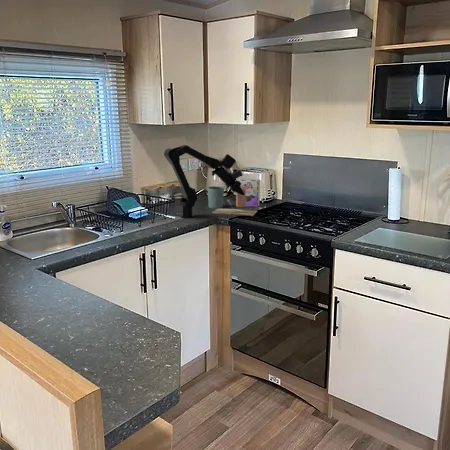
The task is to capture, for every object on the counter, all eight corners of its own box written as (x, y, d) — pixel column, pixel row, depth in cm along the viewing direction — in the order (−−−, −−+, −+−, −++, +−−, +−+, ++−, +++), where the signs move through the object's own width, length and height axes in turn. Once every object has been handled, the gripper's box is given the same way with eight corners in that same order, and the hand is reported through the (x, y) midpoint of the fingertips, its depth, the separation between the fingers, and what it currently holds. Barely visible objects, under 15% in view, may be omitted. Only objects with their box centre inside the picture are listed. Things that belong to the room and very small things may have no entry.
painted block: (245, 206, 273) (245, 189, 270) (237, 207, 272) (237, 189, 269) (243, 205, 277) (243, 188, 275) (236, 205, 276) (236, 188, 274)
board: (253, 215, 265) (253, 214, 265) (212, 213, 271) (212, 212, 271) (257, 211, 277) (257, 210, 277) (217, 209, 283) (217, 208, 283)
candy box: (235, 206, 292) (235, 179, 288) (238, 204, 298) (238, 178, 294) (257, 207, 288) (257, 180, 285) (259, 205, 294) (260, 179, 290)
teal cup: (207, 205, 295) (207, 186, 292) (224, 205, 295) (223, 186, 292) (207, 208, 285) (207, 189, 282) (224, 208, 285) (224, 188, 283)
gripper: (237, 166, 259) (257, 186, 264) (230, 163, 277) (248, 181, 282) (223, 181, 260) (243, 200, 264) (217, 177, 277) (235, 195, 282)
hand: (243, 193), depth 273 cm, fingers closed on painted block, 4 cm apart
